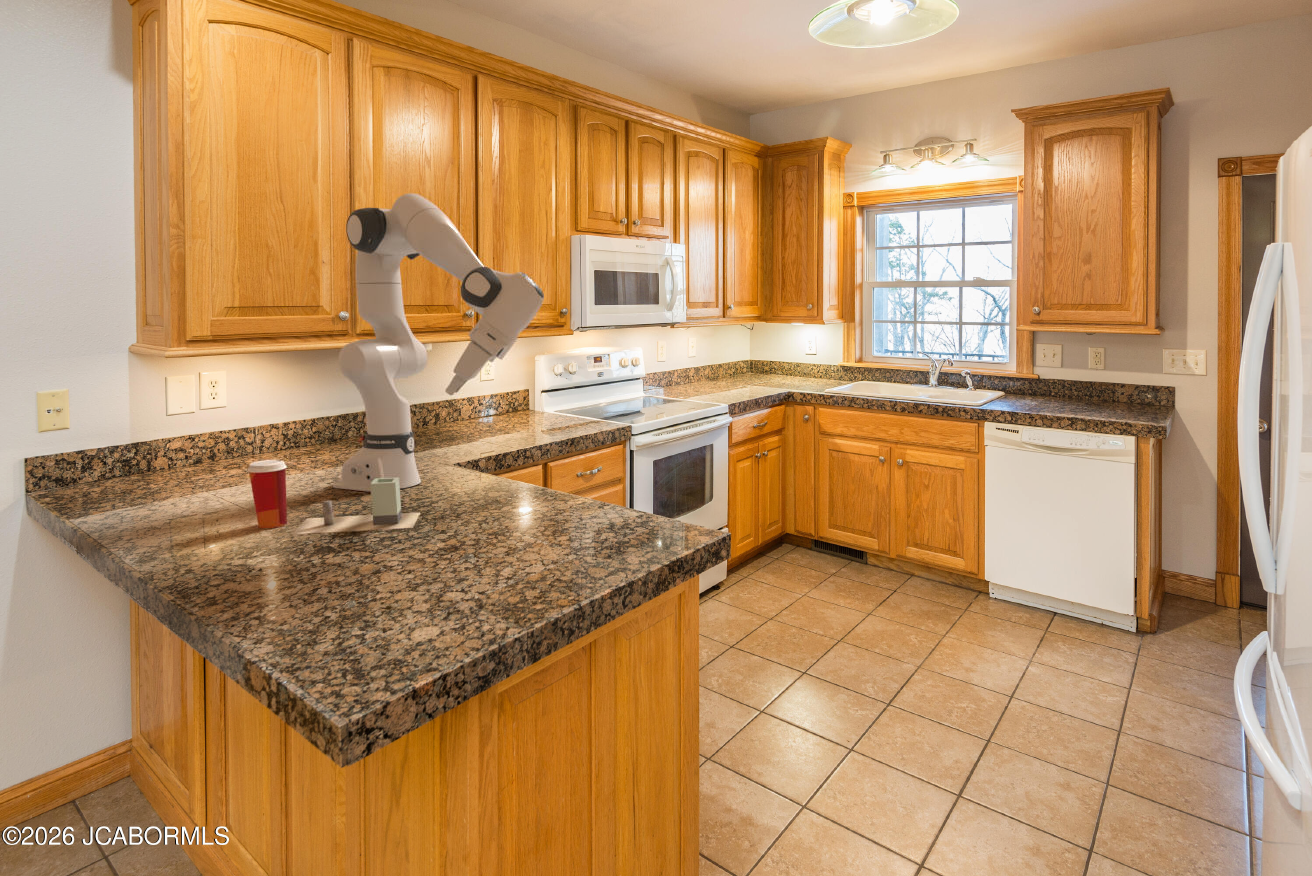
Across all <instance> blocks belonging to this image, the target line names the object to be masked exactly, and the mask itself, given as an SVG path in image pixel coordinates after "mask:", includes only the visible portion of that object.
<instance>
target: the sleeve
mask: <svg viewBox="0 0 1312 876" xmlns="http://www.w3.org/2000/svg"><path fill="white" fill-rule="evenodd" d="M370 486H371V492H370V496H371V509H372V510H371V511H372V515H373V525H387V524H398V523H399V521H400V520H401V518H402V515H401V513H402V503H401V488H400V486H399V478H376V479H374V480H373V481H372V482H371V484H370Z"/></svg>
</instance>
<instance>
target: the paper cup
mask: <svg viewBox="0 0 1312 876" xmlns="http://www.w3.org/2000/svg"><path fill="white" fill-rule="evenodd" d="M284 461H285V460H280V459H266V460H258V461H253V462H251V463H249V466H248V468H247V473H249V479H250V486H251V490H252V491H251V492H252V497H253V504H254V508H255V516H256V520H257V521H256V522H257V526H258V528H259V527H260V529H263V530H264V529H265V528H269V529H276V528H275V527H277V528H280V527H284V526H285V524H286V525H287V524H288V516H287V512H288V509H287V506H288V503H287V478H286V477H287V476H286V475H287V474H286V468H287V467H288V466H287V465H286V463H285V462H284ZM283 525H284V526H283Z"/></svg>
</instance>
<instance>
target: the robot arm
mask: <svg viewBox="0 0 1312 876" xmlns="http://www.w3.org/2000/svg"><path fill="white" fill-rule="evenodd" d="M345 226H346V229H345V230H346V231H345V232H346V236H347V237H346V238H347V239H348V242H349V243H350V245H351V247H352V248H353V249H355V251H356V258H355V288H356V300H357V309H358V315H359V316H360V318H361V319H362V320H363V321H365V322H367V323H368V324H369V325H370V326H371V328H372V329H373V332H374V335H375V338H367V339H366V338H365V339H363V338H362V339H359V340H356V341H355V340H354V341H353V342H349V343H347V344H345V345H344V346H342V348H341V349H340V351H339V354H338V359H337V360H338V361H337V362H338V367H339V370H340V372H341V374H342V375H343V377H344V378H346V379H347V380H349V381H350V382H352V384H353V385H354V386H355V388H356V389H357V390H358V392H359V395H360V396H361V398H362V402H363V405H364V411H365V418H366V427H367V429H366V430H367V432H366V433H365V434H364V435H362V436H359V437H358V439H359V440H358V442H362V441H363V442H362V447H361V448H360V449H358V450H357V451H356V452H355V453H353V454H352V455H351V456H350V457H349V458H348V459H347V460H345V461H344V463H343V465H342V468H341V478H340V479H337V480H335V481H334V482H333V483H332V488H334V489H342V490H343V489H344V490H352V491H359V492H361V491H363V492H370V493H371V486H370V484H371V482H372V481H373V480H374V479H376V478H399V486H400V489H406V488H411V487H414V486H417V485H419V484H421V482H422V480H421V477H420V474H419V471H418V467H417V463H416V459H415V453H414V452H415V437H414V431H413V430H412V420H411V419H412V417H411V406H410V402H409V401H408V399H407V398H406V397H404V396H403V395H400V394H399V392H398V391H397V389H396V385H395V382H394V380H399V379H408V378H410V377H413V376H415V375H418V374H420V373H422V372H423V371H424V370H425V368H426V367H427V364H428V359H429V357H428V353H427V349H426V347H425V345H424V344H423V343H422V342H421V341H420V340H418V339H417V337H416V336H415V335H414V334H413V332H412V330H411V328H410V325H409V323H408V321H407V318H406V313H405V308H404V299H403V290H402V289H403V287H402V277H401V268H400V267H401V262H402V260H403V259H404V258H405V257H406V258H408V259H409V260H410V261H413V260H415V259H416V258H417V257H419V256H421V257H422V258H424V259H425V260H427V261H428V262H430V263H432V264H433V265H435V266H436V267H438V268H440V269H442V270H443V271H444V272H446V273H448V274H449V275H452V276H453V277H455V278H457V280H459V281H460V282H461V285H460V295H461V298H462V300H463V301H464V302H465V304H466V305H468V307H470V308H471V309H473V311H475V312H476V313H477V314H479V315H480V316H481V317H480V319H479V320H478V322H477V323H476V324H475V325H474V326H473V328H471V330H470V331H469V333H468V335H467V336H469V339H470V342H469V343H468V344H467V346H466V347H465V349H464V351H463V352H462V355H461V356H460V358H459V359H458V361H457V363H456V365H455V366H454V368H453V373H454V374H455V375H454V376H453V377H452V379H451V381H450V383H449V384H448V386H447V387H446V388H445V393H446V394H447V395H449V396H453V395H455V394H456V393H458V392H459V391H460V390H461V388H462V387H463V386H464V385H465V384H466V383H467V382H468V381H470V380H472V379H474V378H476V377H477V376H478V374H479V373H480V372H481V371H482V369H483V368H484V366H485V365H486V363H488V362H490V363H494V361H495V359H496V358H497V359H499V360H501V361H502V360H503V359H504V358H505V356H506V355H507V353H508V352H509V351H510V350H511V348H512V347H513V345H514V344H515V343H516V342H517V339H518V337H519V335H520V333H521V332H522V331H524V330H525V329H527V328H528V326H529V325H530V323H531V322H532V321H533V319H534V318H535V317H536V315H537V313H538V312H539V311H540V309H541V308H542V306H543V303H544V298H545V295H544V291H543V290H542V289H541V288H540V286H539V285H538V284H537V283H536V282H535V281H534V280H533V279H532V278H531V277H530V276H528V274H526V273H524V272H521V271H519V272H516V273H509V272H508V273H507V272H502V271H498V270H495V269H492V268H490V267H488V266H485V265H484V264H483V262H481V260H480V259H479V258H478V256H477V255H476V253H475V252H474V251H473V250H472V248H471V247H470V246H469V244H468V243H467V242H466V240H465V238H464V237H463V236H462V234H461V232H460V231H459V229H457V227H456V225H455V224H454V223H453V222H452V221H451V219H450V218H449V217H448V215H446V214H445V213H444V211H442V210H441V209H440V208H439V207H438V206H437V205H435V204H434V203H433V202H432V201H430V200H429V199H427V198H425V197H423V196H422V195H420V194H418V193H412V192H410V193H409V192H408V193H404V194H402V195H401V196H399V197H398V198H396V200H395V201H394V203H393V204H392V207H391V208H379V207H364V208H358V209H355V210H353V211H352V212H351V213H350V215H348V218H347V220H346V225H345Z"/></svg>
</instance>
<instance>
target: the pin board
mask: <svg viewBox="0 0 1312 876" xmlns="http://www.w3.org/2000/svg"><path fill="white" fill-rule="evenodd" d="M322 512H323V517H311V518H308V517H307V518H306V519H304V520H303V521H302V522H301V524H299V526H298V527H297V528H295V530H293V531H292V532H291V533H290V535H305V534H324V533H325V534H326V533H344V532H345V533H346V532H360V531H361V532H362V531H363V532H365V531H377V530H378V531H379V530H396V529H397V530H398V529H412V528H414V526H415V524H416V522H417V520H418V519H419V516H420V514H421V512H405V513H402V512H401V515H402V518H401V520H400V521H399V523H398V524H387V525H373V514H366V515H363V514H362V515H347V516H334V515H333V513H334V512H333V503H332V500H323V501H322Z"/></svg>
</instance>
